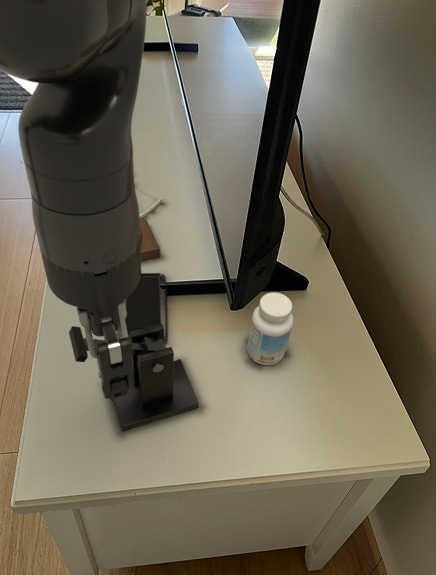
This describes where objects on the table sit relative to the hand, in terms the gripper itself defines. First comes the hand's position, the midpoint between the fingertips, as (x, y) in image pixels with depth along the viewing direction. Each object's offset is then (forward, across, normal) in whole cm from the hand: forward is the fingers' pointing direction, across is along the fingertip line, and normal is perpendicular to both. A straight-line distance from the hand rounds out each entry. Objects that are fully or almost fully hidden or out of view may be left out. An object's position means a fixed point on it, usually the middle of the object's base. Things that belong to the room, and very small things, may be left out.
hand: (106, 358), depth 49 cm
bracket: (+22, -7, +7) cm, 24 cm away
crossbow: (+22, -54, +15) cm, 61 cm away
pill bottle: (+22, -9, +26) cm, 35 cm away
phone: (+22, -23, +10) cm, 33 cm away
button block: (+22, -39, +10) cm, 46 cm away
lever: (+10, -7, +2) cm, 12 cm away
